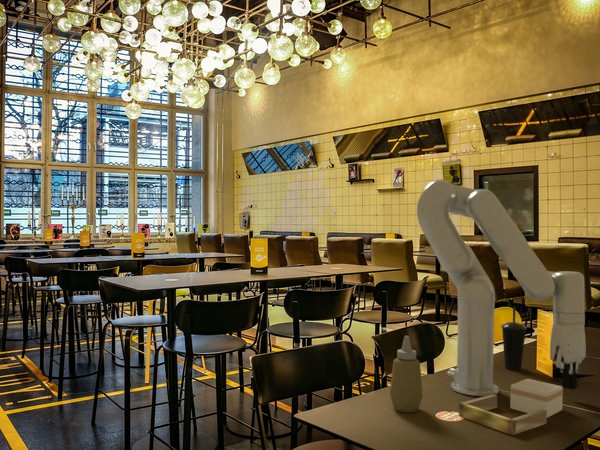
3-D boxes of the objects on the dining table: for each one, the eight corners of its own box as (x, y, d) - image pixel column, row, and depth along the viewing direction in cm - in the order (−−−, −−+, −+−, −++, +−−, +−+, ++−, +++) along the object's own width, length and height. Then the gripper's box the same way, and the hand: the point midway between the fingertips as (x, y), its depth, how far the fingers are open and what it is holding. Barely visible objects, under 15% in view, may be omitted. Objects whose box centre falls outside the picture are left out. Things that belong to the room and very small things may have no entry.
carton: (509, 408, 138) (510, 384, 138) (526, 401, 145) (527, 378, 145) (546, 418, 132) (546, 393, 132) (562, 410, 138) (562, 386, 138)
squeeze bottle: (382, 405, 138) (384, 334, 138) (410, 402, 142) (411, 332, 142) (401, 416, 131) (402, 340, 131) (429, 412, 134) (430, 338, 134)
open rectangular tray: (458, 415, 132) (459, 403, 132) (492, 406, 140) (493, 394, 140) (512, 435, 120) (512, 421, 120) (546, 423, 128) (546, 410, 128)
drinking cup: (529, 372, 173) (531, 308, 173) (505, 371, 173) (506, 307, 173) (520, 365, 181) (521, 304, 181) (497, 365, 181) (498, 304, 181)
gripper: (570, 313, 154) (570, 380, 153) (539, 319, 145) (540, 389, 145) (597, 317, 147) (598, 386, 147) (567, 323, 139) (568, 396, 139)
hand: (569, 387), depth 146 cm, fingers closed
